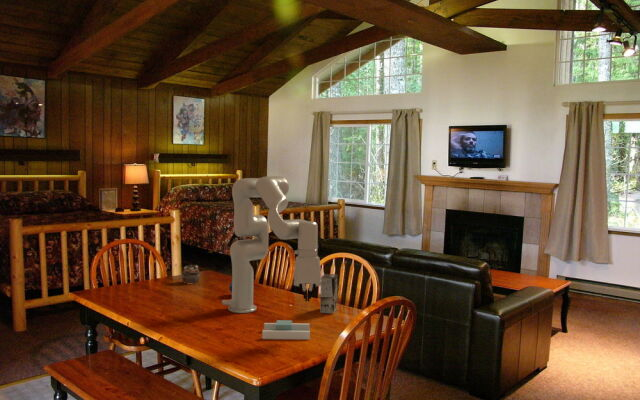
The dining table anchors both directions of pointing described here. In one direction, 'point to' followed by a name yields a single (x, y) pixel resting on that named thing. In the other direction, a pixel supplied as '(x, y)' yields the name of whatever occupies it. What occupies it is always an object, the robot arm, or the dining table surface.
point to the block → (284, 325)
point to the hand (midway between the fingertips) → (307, 300)
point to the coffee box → (328, 293)
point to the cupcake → (190, 274)
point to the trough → (286, 332)
